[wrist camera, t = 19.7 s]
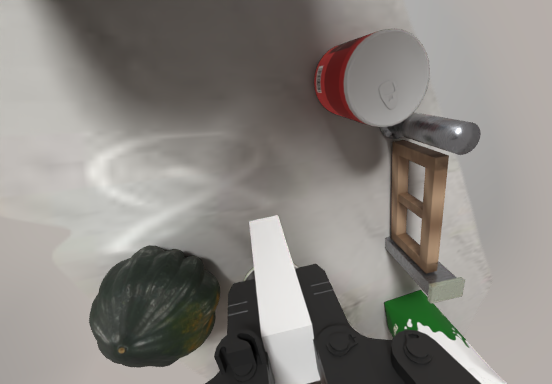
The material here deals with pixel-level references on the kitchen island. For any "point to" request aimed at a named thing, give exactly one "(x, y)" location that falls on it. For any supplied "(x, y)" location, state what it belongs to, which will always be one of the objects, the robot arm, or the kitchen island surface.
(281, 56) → the kitchen island surface
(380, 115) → the canned food
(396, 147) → the gate
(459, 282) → the pillar
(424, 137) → the hinge post
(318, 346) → the robot arm
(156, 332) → the squash
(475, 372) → the milk carton
